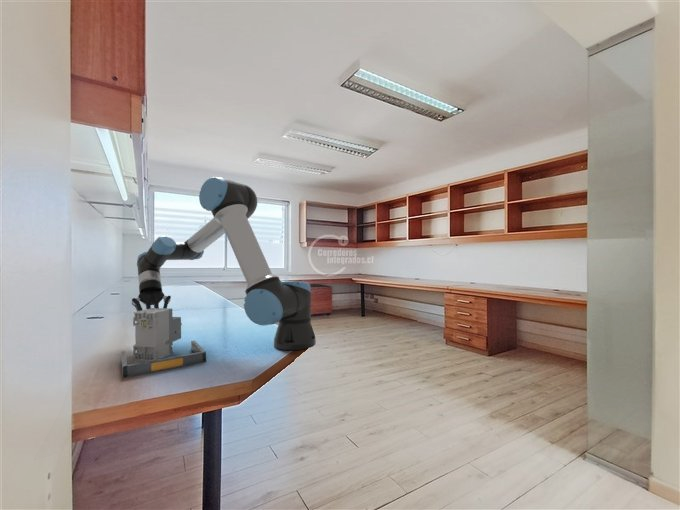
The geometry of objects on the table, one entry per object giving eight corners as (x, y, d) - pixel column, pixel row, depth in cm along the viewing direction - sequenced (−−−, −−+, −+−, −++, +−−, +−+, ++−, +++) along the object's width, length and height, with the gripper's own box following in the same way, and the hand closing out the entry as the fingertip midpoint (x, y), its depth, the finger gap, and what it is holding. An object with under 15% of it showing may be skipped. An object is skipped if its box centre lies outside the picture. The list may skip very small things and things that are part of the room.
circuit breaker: (184, 347, 110) (184, 305, 110) (154, 361, 96) (154, 312, 96) (165, 346, 111) (164, 305, 111) (133, 360, 97) (132, 312, 97)
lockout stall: (206, 361, 95) (206, 352, 95) (123, 378, 83) (122, 367, 83) (194, 348, 109) (194, 340, 109) (121, 361, 96) (121, 351, 96)
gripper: (168, 289, 128) (175, 339, 114) (130, 292, 120) (132, 345, 107) (170, 277, 124) (177, 327, 110) (130, 279, 116) (133, 333, 102)
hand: (155, 336), depth 108 cm, fingers closed
